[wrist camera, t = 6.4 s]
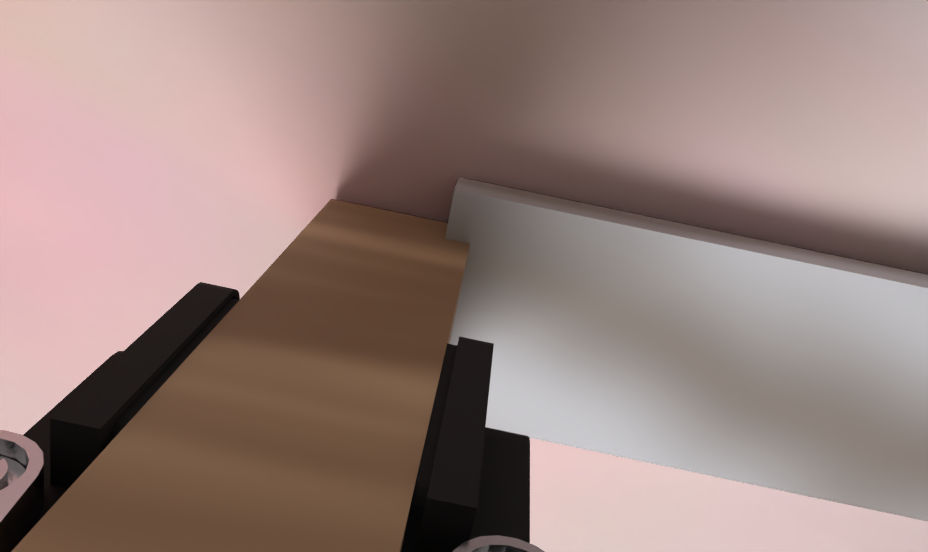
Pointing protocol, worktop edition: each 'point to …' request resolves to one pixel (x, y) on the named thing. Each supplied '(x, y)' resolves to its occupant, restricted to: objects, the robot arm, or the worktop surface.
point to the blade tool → (513, 374)
